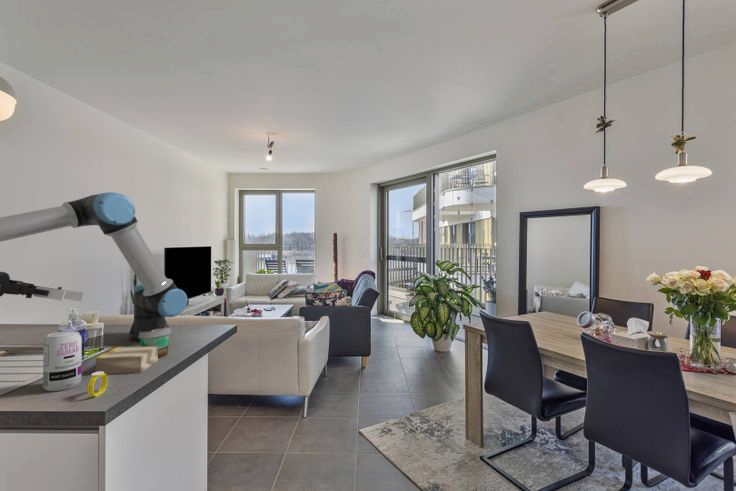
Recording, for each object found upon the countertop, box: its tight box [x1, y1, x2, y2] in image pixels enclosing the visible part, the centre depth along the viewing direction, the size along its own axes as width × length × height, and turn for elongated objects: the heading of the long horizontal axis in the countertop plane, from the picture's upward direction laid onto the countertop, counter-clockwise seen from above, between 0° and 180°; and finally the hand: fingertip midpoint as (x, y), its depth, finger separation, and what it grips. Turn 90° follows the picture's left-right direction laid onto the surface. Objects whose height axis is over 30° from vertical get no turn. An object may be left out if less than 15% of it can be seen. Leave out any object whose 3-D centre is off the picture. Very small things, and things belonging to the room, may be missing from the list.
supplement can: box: [42, 330, 83, 392], centre depth 101 cm, size 8×8×15 cm
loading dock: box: [95, 346, 159, 375], centre depth 117 cm, size 12×13×5 cm
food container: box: [138, 324, 172, 359], centre depth 129 cm, size 12×6×10 cm, turn 168°
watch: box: [87, 371, 109, 398], centre depth 96 cm, size 6×3×6 cm, turn 4°
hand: (74, 296), depth 106 cm, fingers open, 13 cm apart
